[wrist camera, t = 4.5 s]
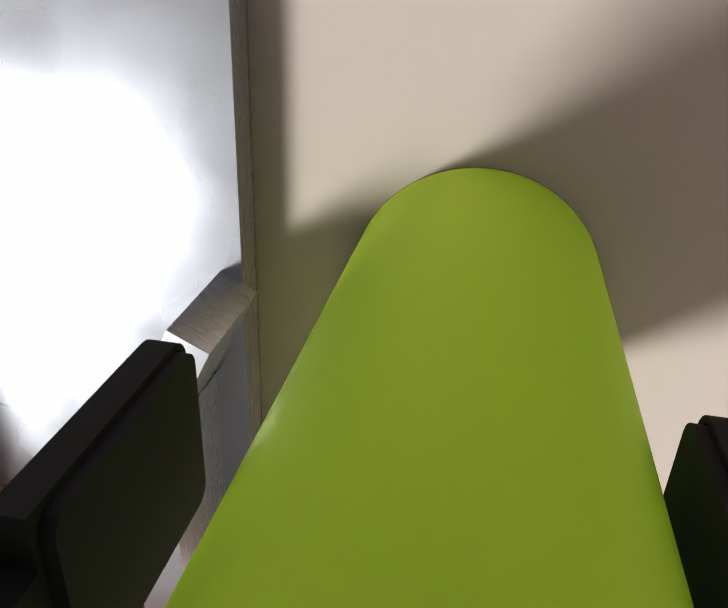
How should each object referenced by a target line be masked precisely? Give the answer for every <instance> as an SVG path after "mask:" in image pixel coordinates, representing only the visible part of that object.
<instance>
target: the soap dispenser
mask: <svg viewBox="0 0 728 608" xmlns="http://www.w3.org/2000/svg"><path fill="white" fill-rule="evenodd" d="M164 608H694V606H693V602H692V599H691V595H690V591H689V588H688V584H687V580H686V577H685V573H684V569H683V566H682V562H681V559H680V555H679V551H678V548H677V544H676V540H675V537H674V533H673V529H672V526H671V522H670V518H669V515H668V511H667V507H666V504H665V500H664V496H663V493H662V489H661V485H660V482H659V478H658V474H657V471H656V467H655V463H654V460H653V456H652V453H651V449H650V445H649V442H648V438H647V434H646V431H645V427H644V423H643V420H642V416H641V412H640V409H639V405H638V401H637V398H636V394H635V390H634V387H633V383H632V379H631V376H630V372H629V368H628V365H627V361H626V358H625V354H624V350H623V347H622V343H621V339H620V336H619V332H618V328H617V325H616V321H615V317H614V314H613V310H612V306H611V303H610V299H609V295H608V292H607V288H606V284H605V281H604V277H603V273H602V270H601V266H600V262H599V259H598V255H597V252H596V249H595V246H594V243H593V241H592V239H591V236H590V234H589V233H588V231H587V229H586V227H585V226H584V224H583V223H582V221H581V220H580V218H579V217H578V216H577V214H576V213H575V212H574V211H573V210H572V209H571V208H570V207H569V206H568V205H567V204H566V203H565V202H564V201H563V200H562V199H561V198H560V197H558V196H557V195H556V194H554V193H553V192H552V191H550V190H549V189H547V188H545V187H544V186H542V185H540V184H538V183H537V182H535V181H532V180H530V179H528V178H526V177H523V176H520V175H517V174H514V173H510V172H506V171H502V170H496V169H488V168H462V169H454V170H448V171H444V172H440V173H436V174H433V175H430V176H427V177H425V178H422V179H420V180H418V181H416V182H414V183H412V184H410V185H409V186H407V187H405V188H404V189H402V190H401V191H399V192H398V193H397V194H395V195H394V196H393V197H392V198H390V199H389V200H388V201H387V202H386V203H385V204H384V205H383V206H382V207H381V208H380V209H379V210H378V212H377V213H376V214H375V215H374V217H373V218H372V220H371V221H370V223H369V224H368V226H367V227H366V229H365V231H364V233H363V235H362V237H361V239H360V241H359V242H358V244H357V246H356V248H355V250H354V252H353V254H352V256H351V257H350V259H349V261H348V263H347V265H346V267H345V269H344V271H343V273H342V274H341V276H340V278H339V280H338V282H337V284H336V286H335V288H334V289H333V291H332V293H331V295H330V297H329V299H328V301H327V303H326V305H325V306H324V308H323V310H322V312H321V314H320V316H319V318H318V320H317V321H316V323H315V325H314V327H313V329H312V331H311V333H310V335H309V337H308V338H307V340H306V342H305V344H304V346H303V348H302V350H301V352H300V353H299V355H298V357H297V359H296V361H295V363H294V365H293V367H292V369H291V370H290V372H289V374H288V376H287V378H286V380H285V382H284V384H283V385H282V387H281V389H280V391H279V393H278V395H277V397H276V399H275V401H274V402H273V404H272V406H271V408H270V410H269V412H268V414H267V416H266V417H265V419H264V421H263V423H262V425H261V427H260V429H259V431H258V432H257V434H256V436H255V438H254V440H253V442H252V444H251V446H250V448H249V449H248V451H247V453H246V455H245V457H244V459H243V461H242V463H241V464H240V466H239V468H238V470H237V472H236V474H235V476H234V478H233V480H232V481H231V483H230V485H229V487H228V489H227V491H226V493H225V495H224V496H223V498H222V500H221V502H220V504H219V506H218V508H217V510H216V512H215V513H214V515H213V517H212V519H211V521H210V523H209V525H208V527H207V528H206V530H205V532H204V534H203V536H202V538H201V540H200V542H199V544H198V545H197V547H196V549H195V551H194V553H193V555H192V557H191V559H190V560H189V562H188V564H187V566H186V568H185V570H184V572H183V574H182V576H181V577H180V579H179V581H178V583H177V585H176V587H175V589H174V591H173V592H172V594H171V596H170V598H169V600H168V602H167V604H166V606H165V607H164Z"/></svg>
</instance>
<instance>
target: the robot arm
mask: <svg viewBox="0 0 728 608" xmlns="http://www.w3.org/2000/svg"><path fill="white" fill-rule="evenodd" d="M205 486H206V477H205V466H204V454H203V443H202V432H201V420H200V409H199V397H198V386H197V374H196V363H195V358H194V356H193V355H192V354H190V353H186V350H185V348H184V346H183V345H182V344H181V343H175V342H167V341H160V340H153V339H146V340H145V341H143V342H142V343H141V344H140V345H139V346H138V347H137V348H136V349H135V350H134V352H133V353H132V354H131V355H130V356H129V357H128V358H127V359H126V360H125V361H124V362H123V363H122V364H121V365H120V366H119V367H118V368H117V369H116V371H115V372H114V373H113V374H112V375H111V376H110V377H109V378H108V379H107V380H106V381H105V382H104V383H103V384H102V385H101V386H100V387H99V388H98V390H97V391H96V392H95V393H94V394H93V395H92V396H91V397H90V398H89V399H88V400H87V401H86V402H85V403H84V404H83V405H82V406H81V407H80V409H79V410H78V411H77V412H76V413H75V414H74V415H73V416H72V417H71V418H70V419H69V420H68V421H67V422H66V423H65V424H64V425H63V426H62V428H61V429H60V430H59V431H58V432H57V433H56V434H55V435H54V436H53V437H52V438H51V439H50V440H49V441H48V442H47V443H46V444H45V445H44V447H43V448H42V449H41V450H40V451H39V452H38V453H37V454H36V455H35V456H34V457H33V458H32V459H31V460H30V461H29V462H28V463H27V464H26V465H25V467H24V468H23V469H22V470H21V471H20V472H19V473H18V474H17V475H16V476H15V477H14V478H13V479H12V480H11V481H10V482H9V483H8V484H7V486H6V487H5V488H4V489H3V490H2V491H1V492H0V608H142V607H143V605H144V603H145V601H146V600H147V598H148V596H149V594H150V593H151V591H152V589H153V587H154V586H155V584H156V582H157V580H158V578H159V577H160V575H161V573H162V571H163V570H164V568H165V566H166V564H167V563H168V561H169V559H170V557H171V555H172V554H173V552H174V550H175V548H176V547H177V545H178V543H179V541H180V540H181V538H182V536H183V534H184V532H185V531H186V529H187V527H188V525H189V524H190V522H191V520H192V518H193V517H194V515H195V513H196V511H197V510H198V508H199V506H200V504H201V502H202V499H203V496H204V492H205ZM663 496H664V500H665V504H666V507H667V511H668V515H669V518H670V522H671V526H672V529H673V533H674V537H675V540H676V544H677V548H678V551H679V555H680V559H681V562H682V566H683V569H684V573H685V577H686V580H687V584H688V588H689V591H690V595H691V599H692V602H693V606H694V608H728V418H724V417H716V416H709V415H705V416H702V418H701V419H700V420H699V422H698V424H694V423H688V424H687V425H686V426H685V428H684V431H683V434H682V437H681V440H680V443H679V447H678V450H677V453H676V456H675V460H674V463H673V466H672V469H671V472H670V476H669V479H668V482H667V485H666V488H665V492H664V495H663Z"/></svg>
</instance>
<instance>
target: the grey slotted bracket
mask: <svg viewBox="0 0 728 608" xmlns="http://www.w3.org/2000/svg"><path fill="white" fill-rule="evenodd" d="M146 339H153V340H160V341H167V342H175V343H181V344H182V345H183V346H184V348H185V350H186V353H190V354H192V355H193V356H194V358H195V363H196V374H197V386H198V397H199V409H200V420H201V432H202V443H203V454H204V466H205V477H206V486H205V492H204V496H203V499H202V502H201V504H200V506H199V508H198V510H197V511H196V513H195V515H194V517H193V518H192V520H191V522H190V524H189V525H188V527H187V529H186V531H185V532H184V534H183V536H182V538H181V540H180V541H179V543H178V545H177V547H176V548H175V550H174V552H173V554H172V555H171V557H170V559H169V561H168V563H167V564H166V566H165V568H164V570H163V571H162V573H161V575H160V577H159V578H158V580H157V582H156V584H155V586H154V587H153V589H152V591H151V593H150V594H149V596H148V598H147V600H146V601H145V603H144V605H143V607H142V608H164V607H165V606H166V604H167V602H168V600H169V598H170V596H171V594H172V592H173V591H174V589H175V587H176V585H177V583H178V581H179V579H180V577H181V576H182V574H183V572H184V570H185V568H186V566H187V564H188V562H189V560H190V559H191V557H192V555H193V553H194V551H195V549H196V547H197V545H198V544H199V542H200V540H201V538H202V536H203V534H204V532H205V530H206V528H207V527H208V525H209V523H210V521H211V519H212V517H213V515H214V513H215V512H216V510H217V508H218V506H219V504H220V502H221V500H222V498H223V496H224V495H225V493H226V491H227V489H228V487H229V485H230V483H231V481H232V480H233V478H234V476H235V474H236V472H237V470H238V468H239V466H240V464H241V463H242V461H243V459H244V457H245V455H246V453H247V451H248V449H249V448H250V446H251V444H252V442H253V440H254V438H255V436H256V434H257V432H258V431H259V429H260V427H261V425H262V419H261V392H260V366H259V339H258V312H257V286H256V259H255V232H254V206H253V179H252V152H251V126H250V99H249V72H248V46H247V19H246V0H0V492H1V491H2V490H3V489H4V488H5V487H6V486H7V484H8V483H9V482H10V481H11V480H12V479H13V478H14V477H15V476H16V475H17V474H18V473H19V472H20V471H21V470H22V469H23V468H24V467H25V465H26V464H27V463H28V462H29V461H30V460H31V459H32V458H33V457H34V456H35V455H36V454H37V453H38V452H39V451H40V450H41V449H42V448H43V447H44V445H45V444H46V443H47V442H48V441H49V440H50V439H51V438H52V437H53V436H54V435H55V434H56V433H57V432H58V431H59V430H60V429H61V428H62V426H63V425H64V424H65V423H66V422H67V421H68V420H69V419H70V418H71V417H72V416H73V415H74V414H75V413H76V412H77V411H78V410H79V409H80V407H81V406H82V405H83V404H84V403H85V402H86V401H87V400H88V399H89V398H90V397H91V396H92V395H93V394H94V393H95V392H96V391H97V390H98V388H99V387H100V386H101V385H102V384H103V383H104V382H105V381H106V380H107V379H108V378H109V377H110V376H111V375H112V374H113V373H114V372H115V371H116V369H117V368H118V367H119V366H120V365H121V364H122V363H123V362H124V361H125V360H126V359H127V358H128V357H129V356H130V355H131V354H132V353H133V352H134V350H135V349H136V348H137V347H138V346H139V345H140V344H141V343H142V342H143V341H145V340H146Z"/></svg>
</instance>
